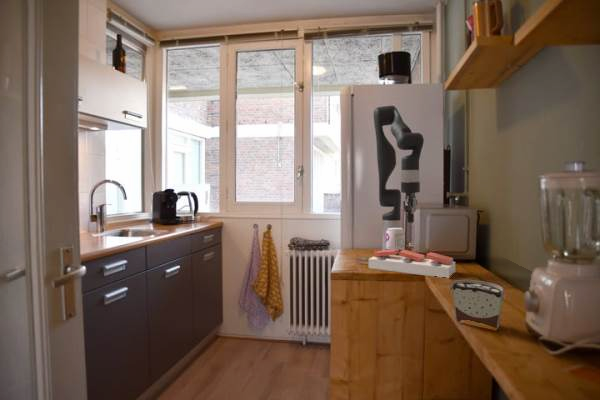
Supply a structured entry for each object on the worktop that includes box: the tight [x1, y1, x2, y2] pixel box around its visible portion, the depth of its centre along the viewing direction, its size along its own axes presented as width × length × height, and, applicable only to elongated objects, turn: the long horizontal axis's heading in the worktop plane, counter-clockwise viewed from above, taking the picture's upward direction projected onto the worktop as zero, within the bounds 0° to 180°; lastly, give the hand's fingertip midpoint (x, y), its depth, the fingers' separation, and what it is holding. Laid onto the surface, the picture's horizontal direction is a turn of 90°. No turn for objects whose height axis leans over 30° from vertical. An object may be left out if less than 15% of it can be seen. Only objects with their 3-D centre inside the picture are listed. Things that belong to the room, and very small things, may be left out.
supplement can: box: [386, 227, 405, 257], centre depth 163 cm, size 8×8×15 cm
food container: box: [449, 279, 506, 329], centre depth 86 cm, size 12×6×10 cm, turn 48°
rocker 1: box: [373, 249, 399, 257], centre depth 150 cm, size 6×9×2 cm, turn 55°
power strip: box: [356, 255, 456, 279], centre depth 145 cm, size 12×40×5 cm, turn 55°
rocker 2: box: [425, 251, 454, 265], centre depth 138 cm, size 6×9×2 cm, turn 55°
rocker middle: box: [399, 249, 426, 261], centre depth 144 cm, size 6×9×2 cm, turn 55°
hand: (410, 222), depth 145 cm, fingers closed
